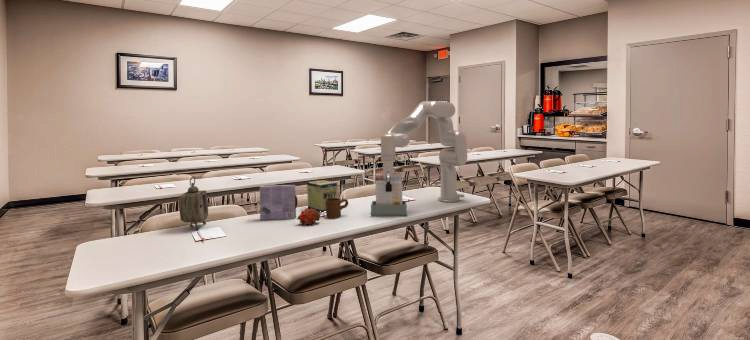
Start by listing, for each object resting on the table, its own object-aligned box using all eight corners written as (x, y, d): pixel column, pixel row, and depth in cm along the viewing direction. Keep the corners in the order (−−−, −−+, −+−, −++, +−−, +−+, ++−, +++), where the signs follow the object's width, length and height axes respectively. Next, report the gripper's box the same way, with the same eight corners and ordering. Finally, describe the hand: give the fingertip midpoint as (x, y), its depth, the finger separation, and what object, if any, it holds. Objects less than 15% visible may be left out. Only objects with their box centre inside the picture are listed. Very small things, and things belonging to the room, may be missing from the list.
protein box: (323, 213, 237) (322, 185, 235) (307, 208, 249) (306, 181, 246) (338, 210, 244) (337, 182, 242) (322, 205, 255) (321, 179, 253)
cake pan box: (298, 216, 231) (296, 183, 228) (298, 218, 226) (296, 185, 223) (261, 218, 227) (259, 185, 225) (260, 221, 223) (258, 187, 220)
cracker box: (402, 210, 234) (402, 172, 231) (402, 213, 228) (402, 174, 225) (376, 210, 235) (376, 172, 232) (375, 213, 229) (375, 174, 227)
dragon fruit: (323, 225, 217) (299, 232, 213) (318, 213, 222) (295, 219, 218) (323, 215, 211) (299, 221, 207) (317, 202, 216) (294, 208, 212)
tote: (406, 211, 237) (406, 200, 236) (406, 216, 226) (406, 205, 225) (372, 211, 238) (372, 200, 237) (371, 216, 227) (370, 205, 226)
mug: (346, 213, 234) (346, 196, 233) (350, 217, 227) (350, 199, 226) (324, 216, 230) (324, 198, 229) (328, 219, 223) (327, 201, 222)
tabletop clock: (200, 231, 205) (196, 179, 202) (180, 232, 205) (176, 179, 201) (209, 223, 220) (205, 174, 216) (190, 224, 219) (186, 175, 215)
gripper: (381, 156, 237) (382, 187, 239) (380, 159, 219) (381, 193, 222) (395, 155, 236) (396, 186, 238) (395, 159, 219) (395, 193, 221)
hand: (389, 189), depth 230 cm, fingers open, 9 cm apart
